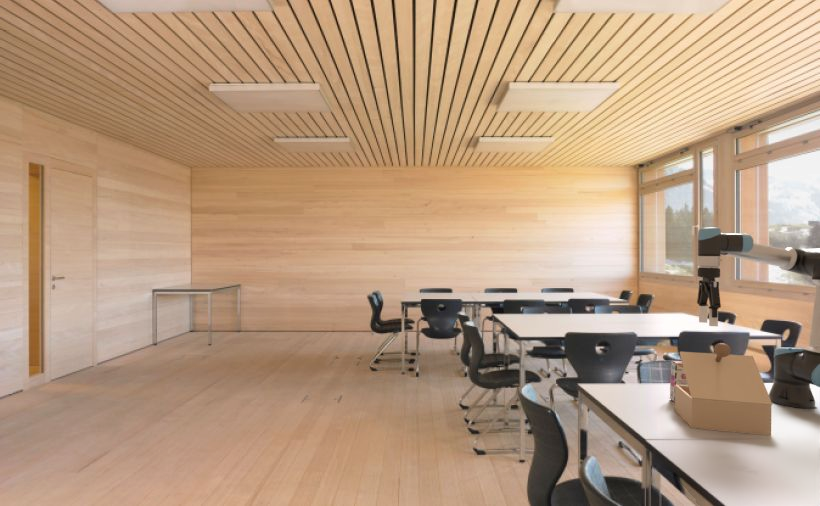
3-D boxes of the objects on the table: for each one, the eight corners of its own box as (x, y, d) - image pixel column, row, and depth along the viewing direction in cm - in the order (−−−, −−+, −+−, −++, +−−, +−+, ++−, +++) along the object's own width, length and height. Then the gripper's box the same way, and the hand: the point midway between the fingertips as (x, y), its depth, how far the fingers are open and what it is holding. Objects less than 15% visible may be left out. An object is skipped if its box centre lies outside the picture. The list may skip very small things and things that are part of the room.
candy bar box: (674, 403, 195) (675, 363, 195) (669, 399, 200) (670, 360, 200) (703, 404, 194) (704, 364, 194) (697, 401, 199) (698, 361, 199)
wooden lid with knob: (752, 357, 175) (760, 341, 169) (771, 405, 160) (780, 389, 154) (679, 352, 181) (684, 337, 175) (691, 398, 166) (698, 383, 160)
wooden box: (745, 416, 180) (745, 390, 180) (771, 435, 160) (771, 405, 160) (674, 410, 185) (675, 384, 186) (691, 427, 166) (691, 399, 166)
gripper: (731, 267, 174) (731, 328, 174) (708, 267, 196) (708, 321, 196) (708, 267, 176) (707, 327, 175) (688, 266, 198) (687, 320, 198)
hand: (708, 324), depth 186 cm, fingers open, 10 cm apart
